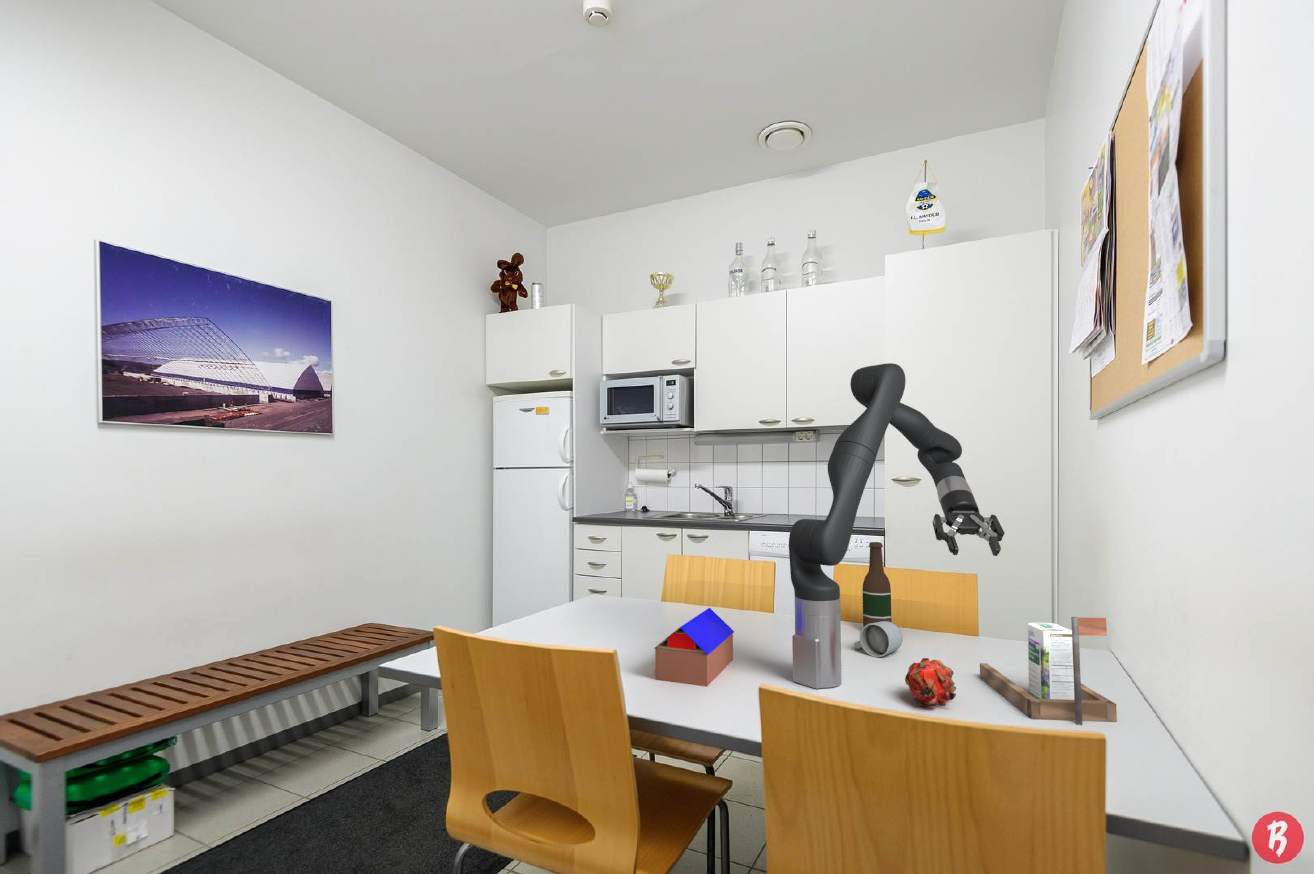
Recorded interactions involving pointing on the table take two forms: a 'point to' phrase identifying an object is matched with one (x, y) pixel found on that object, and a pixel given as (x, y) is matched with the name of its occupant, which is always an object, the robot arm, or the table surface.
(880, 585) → the beer bottle
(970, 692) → the table surface
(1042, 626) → the syrup box
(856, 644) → the ceramic mug
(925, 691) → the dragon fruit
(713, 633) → the house
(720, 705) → the table surface
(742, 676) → the table surface
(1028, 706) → the wooden frame with flag
